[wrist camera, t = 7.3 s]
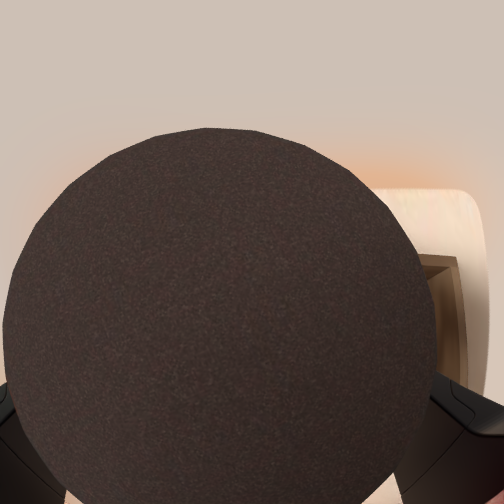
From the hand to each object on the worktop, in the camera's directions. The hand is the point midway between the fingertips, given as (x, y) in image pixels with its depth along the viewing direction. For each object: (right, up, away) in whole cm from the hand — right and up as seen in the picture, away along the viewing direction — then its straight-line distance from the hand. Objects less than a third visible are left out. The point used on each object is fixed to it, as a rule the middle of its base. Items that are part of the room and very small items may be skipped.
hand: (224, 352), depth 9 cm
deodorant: (-1, -3, +8) cm, 9 cm away
